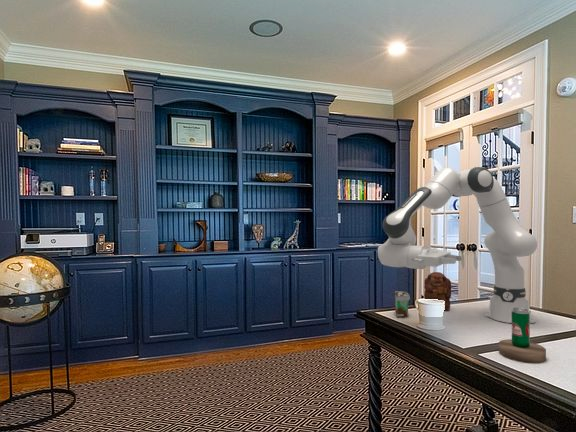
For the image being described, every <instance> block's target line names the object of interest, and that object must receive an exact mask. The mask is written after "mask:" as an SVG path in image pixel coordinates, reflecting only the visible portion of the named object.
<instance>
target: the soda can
mask: <svg viewBox="0 0 576 432" xmlns="http://www.w3.org/2000/svg"><path fill="white" fill-rule="evenodd" d="M530 324H531V323H530V313H529V312H528V309H525V308H518V307H516V308H513V310H512V323H511V339H512V344H513V345H514V346H517V347H521V348H527V347H529V346H530V342H531V339H530V338H531V337H530V336H531V327H530V326H531V325H530Z"/></svg>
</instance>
